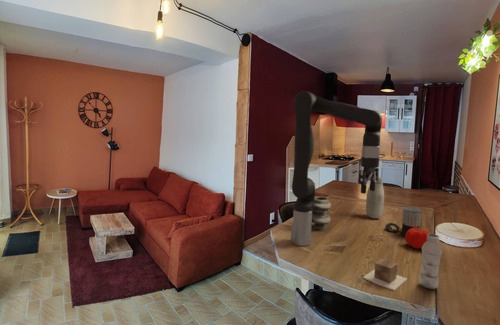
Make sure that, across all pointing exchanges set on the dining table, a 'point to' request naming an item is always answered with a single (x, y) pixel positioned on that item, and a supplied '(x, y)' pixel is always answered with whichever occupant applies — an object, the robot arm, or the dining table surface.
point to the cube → (385, 270)
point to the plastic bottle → (430, 262)
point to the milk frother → (407, 220)
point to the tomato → (416, 237)
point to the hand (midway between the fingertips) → (367, 191)
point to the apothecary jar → (320, 213)
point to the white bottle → (375, 200)
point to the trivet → (392, 286)
